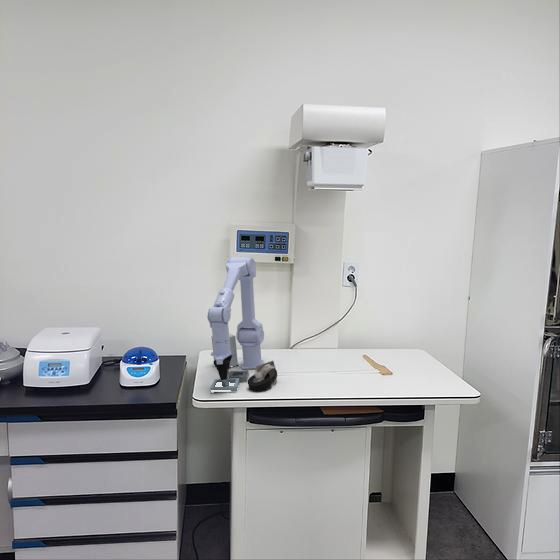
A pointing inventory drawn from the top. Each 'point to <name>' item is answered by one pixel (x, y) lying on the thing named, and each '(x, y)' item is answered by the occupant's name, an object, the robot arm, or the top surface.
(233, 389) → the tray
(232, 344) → the grey box
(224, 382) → the lock pin
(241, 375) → the tensioner block
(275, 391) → the top surface
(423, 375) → the top surface
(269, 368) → the caster wheel
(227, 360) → the robot arm
